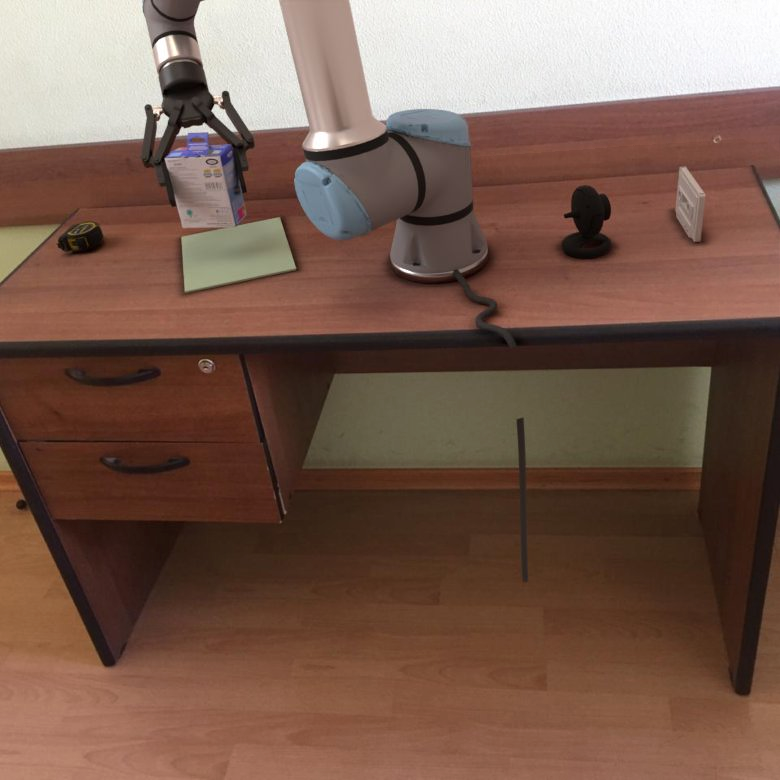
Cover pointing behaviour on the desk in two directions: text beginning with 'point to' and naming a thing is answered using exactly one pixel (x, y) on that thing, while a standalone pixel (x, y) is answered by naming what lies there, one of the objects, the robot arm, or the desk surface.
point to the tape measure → (81, 237)
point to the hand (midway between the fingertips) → (208, 196)
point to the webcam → (587, 223)
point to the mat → (235, 255)
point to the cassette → (690, 204)
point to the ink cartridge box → (206, 184)
